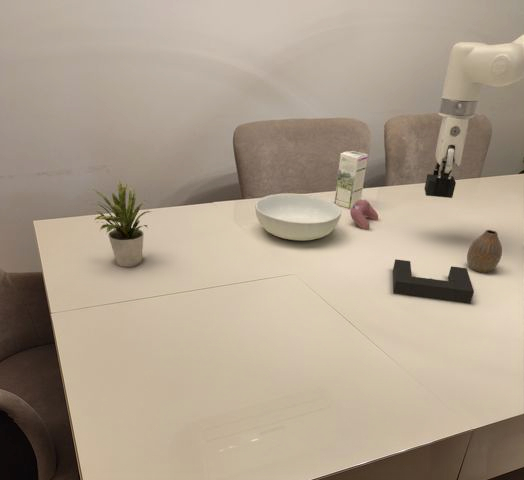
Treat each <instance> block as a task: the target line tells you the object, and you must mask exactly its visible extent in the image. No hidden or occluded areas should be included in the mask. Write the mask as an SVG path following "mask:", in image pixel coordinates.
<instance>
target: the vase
mask: <svg viewBox="0 0 524 480" xmlns="http://www.w3.org/2000/svg"><path fill="white" fill-rule="evenodd" d="M502 255H503V246H502V243H501V241H500V239H499V236H498V232H497V231H496V230H492V229H486V230H485V231H484V232H483V233H482V234H481V235H480V236H478V237H477V238H475V239H474V240H473V241H472V243H471V244H470V246H469V247H468V250H467V254H466V262H467V263H466V264H468V267H469V269H471V270H473V271H475V272H476V273H477V272H478V273H485V274H486V273H489V272H492V271H493V270H494V269H496V268H497V266H498V265H499V263H500V261H501V259H502Z"/></svg>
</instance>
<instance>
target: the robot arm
mask: <svg viewBox="0 0 524 480" xmlns="http://www.w3.org/2000/svg"><path fill="white" fill-rule="evenodd" d="M523 79H524V33H523V34H522V35H521V36H519V37H517V38H516V39H515V40H513V41H512V42H508V43H500V44H499V43H498V44H486V43H484V42H476V41H475V42H473V41H460V42H459V41H458V42H457V43H455V44H454V45H453V46H452V48H451V51H450V55H449V60H448V64H447V69H446V74H445V79H444V84H443V89H442V94H441V98H440V103H439V108H438V111H437V112H438V113H437V115H438V116H441V117H442V119H441V123H440V128H439V132H438V138H437V142H436V148H435V160H436V163H435V167H434V169H433V173H432V175H438V177H436V181H435V185H434V190H433V195H436V196H447V194H448V189H449V185H450V181H451V176H452V173H453V168H454V164H455V166H456V167H459V166H460V165H461V163H462V158H463V154H464V148H465V143H466V139H467V134H468V128H469V121H470V119H473V118H474V117H475V113H476V109H477V105H478V100H479V96H480V94H481V93H480V92H481V88H482V84H484V85H487V86H491V87H497V88H502V87H506V86H509V85H511V84H515V83H518V82H519V81H521V80H523Z"/></svg>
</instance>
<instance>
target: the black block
mask: <svg viewBox="0 0 524 480" xmlns="http://www.w3.org/2000/svg"><path fill="white" fill-rule="evenodd" d="M436 177H438V175H433V173H430V174H429V173H427V175H426V179H425V182H424V183H425V185H424V189H423V190H424V194H425V196H426V197H436V198H449V199H453V198H454V197H453V196H454V192H455V189H456V184H457V182H456V180H455V178H454V176H453V175H451V181H450V185H449V189H448V194H447V196H436V195H433V190H434V185H435V181H436Z"/></svg>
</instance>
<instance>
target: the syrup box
mask: <svg viewBox="0 0 524 480" xmlns="http://www.w3.org/2000/svg"><path fill="white" fill-rule="evenodd" d="M368 157H369V154H368V153H364V152H360V151H353V150H347V151H344V152H341V153H340V155H339V164H338V172H337V180H336V189H335V195H334V196H335V198H334V203H335V204H336V205H338V206H339V207H343V208H346V209H350V210H351V208H352V207H353V205H354V203H355V202H356V201H359V200H362V196H363V190H364V189H363V188H364V183H365V177H366V170H367V164H368Z"/></svg>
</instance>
